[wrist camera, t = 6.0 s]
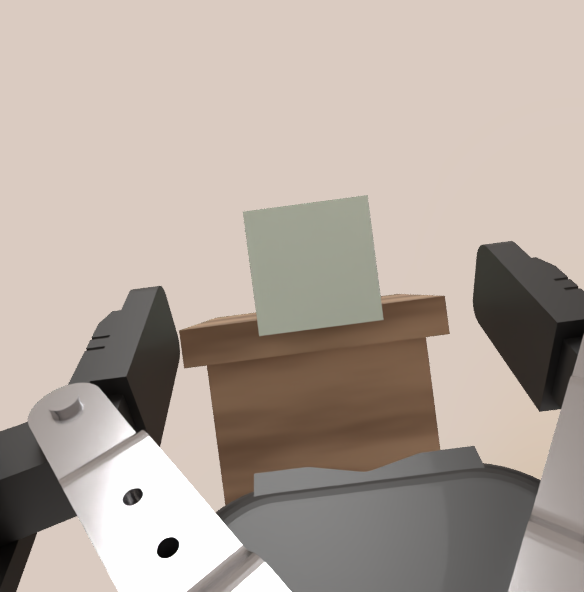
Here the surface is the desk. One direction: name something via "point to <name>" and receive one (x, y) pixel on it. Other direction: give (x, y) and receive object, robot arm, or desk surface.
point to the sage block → (313, 265)
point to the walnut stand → (319, 391)
